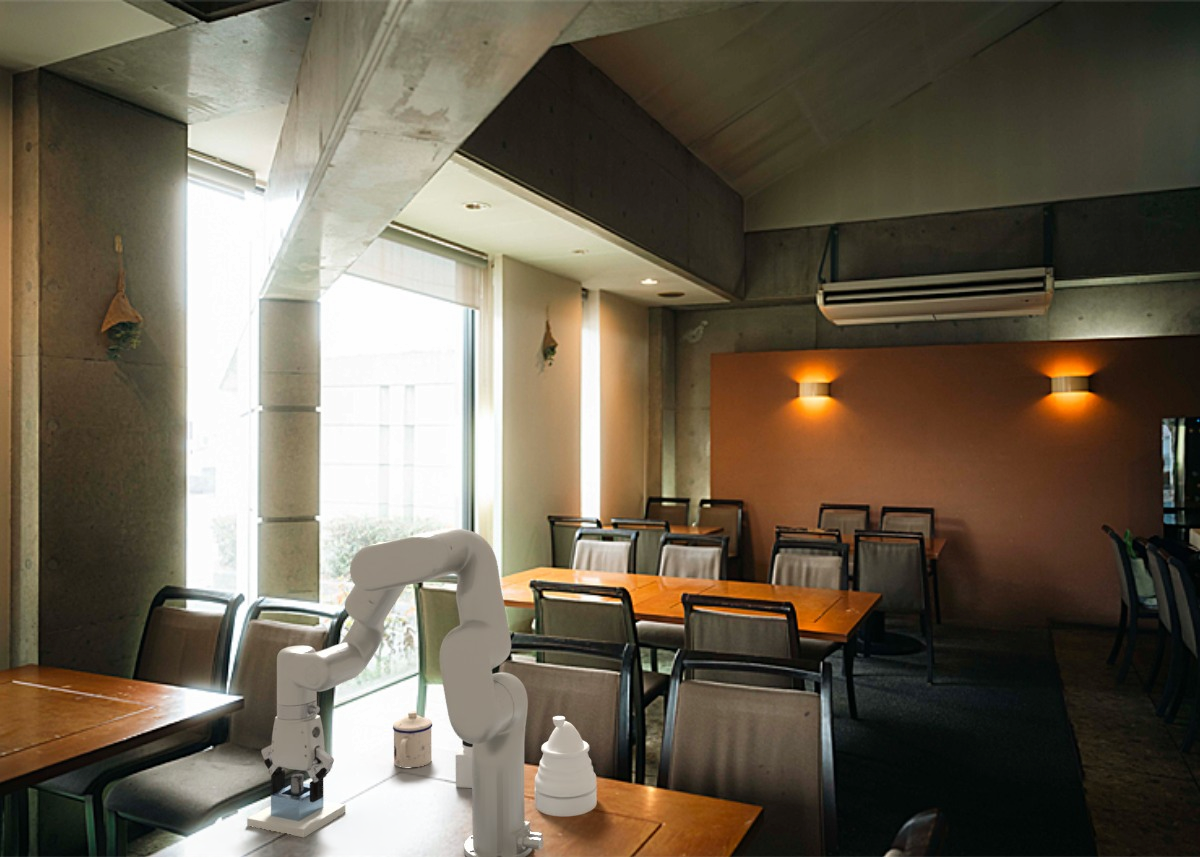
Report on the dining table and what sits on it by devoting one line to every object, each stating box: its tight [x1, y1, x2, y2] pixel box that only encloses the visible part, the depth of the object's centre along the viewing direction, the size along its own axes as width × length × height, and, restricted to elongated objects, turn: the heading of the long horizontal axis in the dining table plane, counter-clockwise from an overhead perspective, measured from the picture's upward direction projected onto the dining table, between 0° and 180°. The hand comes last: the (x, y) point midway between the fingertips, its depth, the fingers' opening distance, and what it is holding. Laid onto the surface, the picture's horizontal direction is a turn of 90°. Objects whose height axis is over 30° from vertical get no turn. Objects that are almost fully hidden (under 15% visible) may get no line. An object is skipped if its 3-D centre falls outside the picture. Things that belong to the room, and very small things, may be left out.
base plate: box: [246, 800, 346, 838], centre depth 169 cm, size 14×12×2 cm
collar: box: [270, 783, 324, 821], centre depth 169 cm, size 7×7×4 cm
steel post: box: [290, 773, 304, 797], centre depth 169 cm, size 3×3×7 cm
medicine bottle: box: [455, 739, 473, 789], centre depth 187 cm, size 7×7×12 cm
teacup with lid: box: [392, 711, 433, 768], centre depth 198 cm, size 12×9×12 cm
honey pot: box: [534, 715, 598, 817], centre depth 176 cm, size 13×13×18 cm
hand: (297, 796), depth 169 cm, fingers open, 9 cm apart
